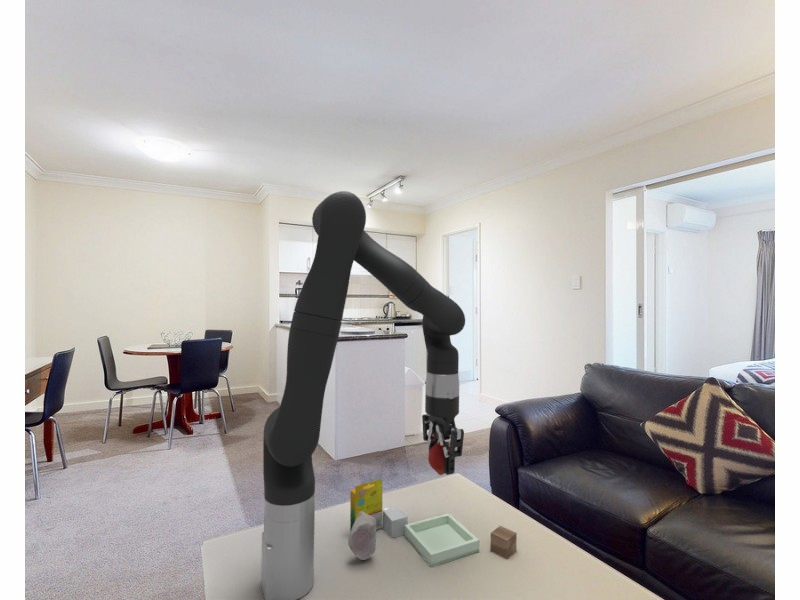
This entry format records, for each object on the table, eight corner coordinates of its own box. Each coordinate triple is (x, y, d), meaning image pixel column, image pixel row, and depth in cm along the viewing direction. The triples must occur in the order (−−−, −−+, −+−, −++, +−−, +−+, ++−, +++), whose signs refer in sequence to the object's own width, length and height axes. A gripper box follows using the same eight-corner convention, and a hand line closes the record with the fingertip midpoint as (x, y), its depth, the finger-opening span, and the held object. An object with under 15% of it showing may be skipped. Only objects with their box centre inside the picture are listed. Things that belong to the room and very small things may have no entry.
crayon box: (376, 522, 97) (377, 474, 97) (383, 528, 95) (383, 478, 95) (349, 531, 93) (350, 481, 93) (355, 537, 91) (355, 486, 91)
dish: (431, 567, 81) (431, 554, 81) (404, 535, 92) (404, 524, 92) (479, 551, 86) (479, 540, 86) (448, 523, 97) (448, 513, 97)
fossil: (348, 568, 80) (349, 518, 80) (346, 557, 84) (347, 509, 84) (377, 563, 82) (377, 514, 82) (373, 553, 85) (374, 506, 85)
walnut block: (507, 559, 84) (507, 540, 84) (490, 551, 86) (490, 532, 86) (516, 551, 87) (516, 532, 87) (499, 543, 89) (500, 525, 89)
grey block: (391, 538, 91) (392, 520, 91) (382, 527, 95) (383, 510, 95) (407, 534, 93) (407, 516, 93) (397, 523, 97) (398, 506, 97)
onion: (453, 470, 92) (454, 435, 92) (454, 481, 86) (455, 444, 86) (428, 468, 92) (428, 433, 92) (427, 479, 86) (428, 442, 86)
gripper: (412, 387, 94) (411, 459, 94) (445, 401, 81) (444, 484, 81) (439, 384, 97) (438, 454, 97) (475, 398, 84) (474, 477, 84)
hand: (441, 467), depth 89 cm, fingers closed on onion, 6 cm apart
